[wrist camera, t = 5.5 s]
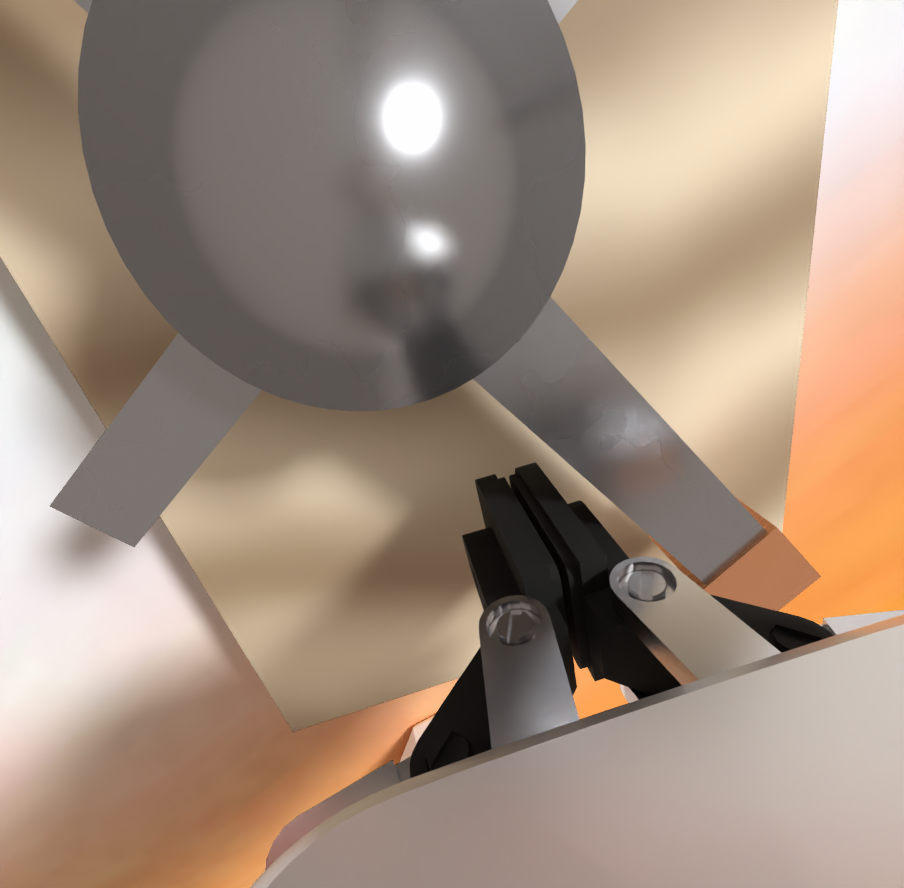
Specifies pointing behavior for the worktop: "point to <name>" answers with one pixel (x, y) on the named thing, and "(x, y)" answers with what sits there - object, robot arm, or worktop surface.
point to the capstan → (369, 248)
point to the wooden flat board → (470, 406)
